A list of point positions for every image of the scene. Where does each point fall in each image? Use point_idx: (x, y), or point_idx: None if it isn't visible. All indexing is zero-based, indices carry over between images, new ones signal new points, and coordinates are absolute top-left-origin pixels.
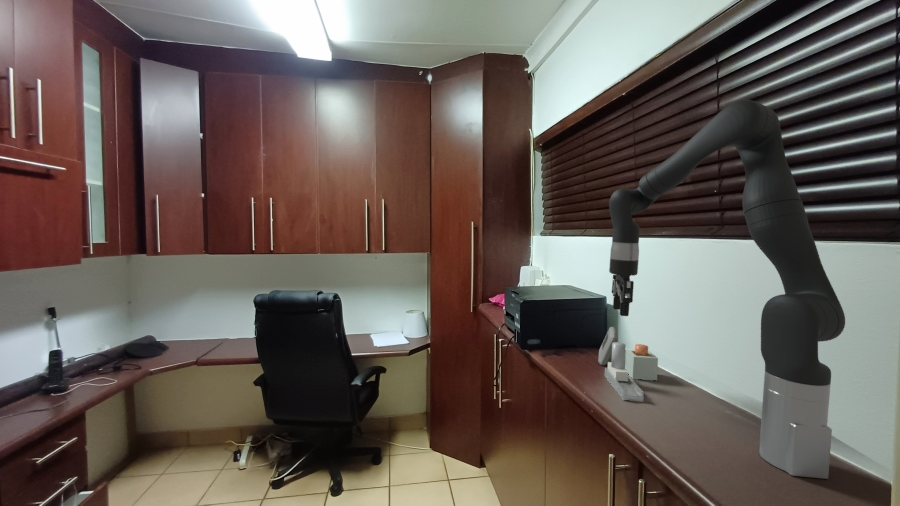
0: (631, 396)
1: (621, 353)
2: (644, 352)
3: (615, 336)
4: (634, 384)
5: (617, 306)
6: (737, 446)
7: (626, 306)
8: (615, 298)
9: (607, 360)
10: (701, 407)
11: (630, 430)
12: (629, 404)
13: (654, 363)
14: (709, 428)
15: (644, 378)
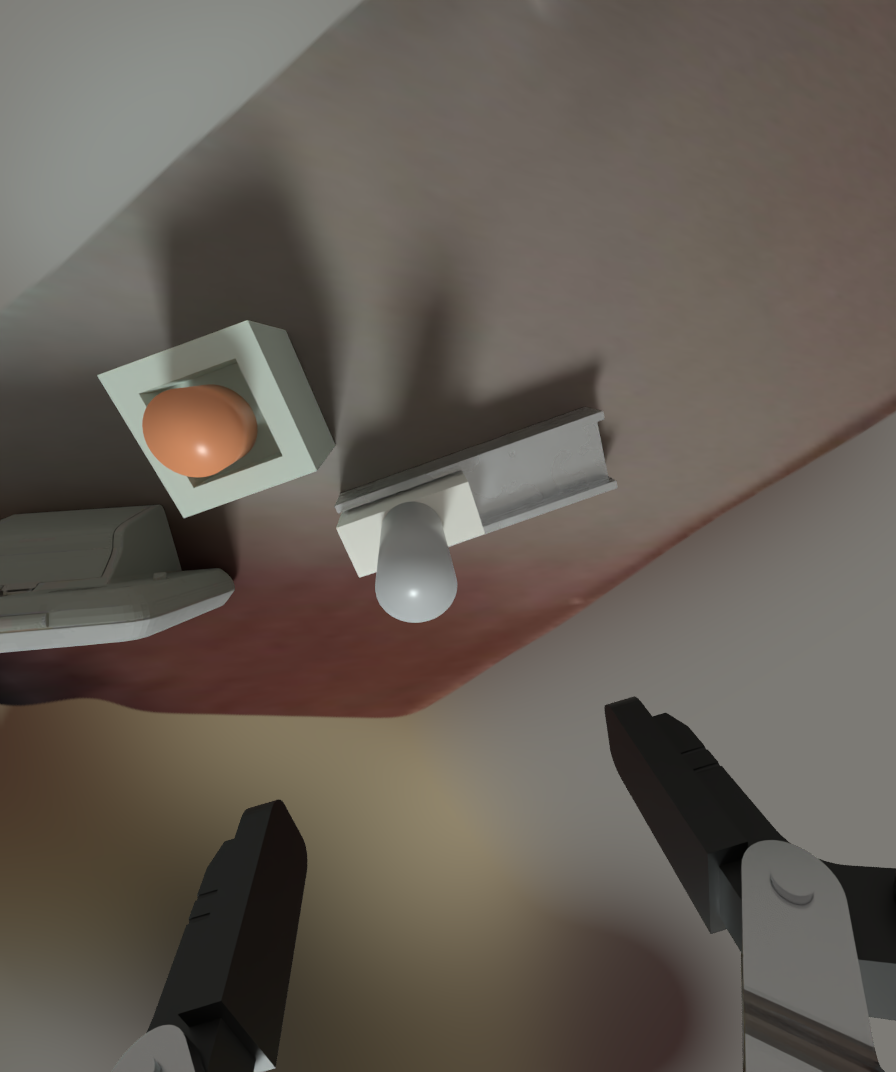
0: (601, 453)
1: (447, 548)
2: (240, 410)
3: (106, 612)
4: (524, 447)
5: (284, 860)
6: (867, 77)
7: (739, 821)
8: (273, 1029)
9: (214, 572)
10: (543, 144)
11: (817, 450)
12: (626, 455)
13: (269, 344)
14: (746, 160)
15: (311, 392)
